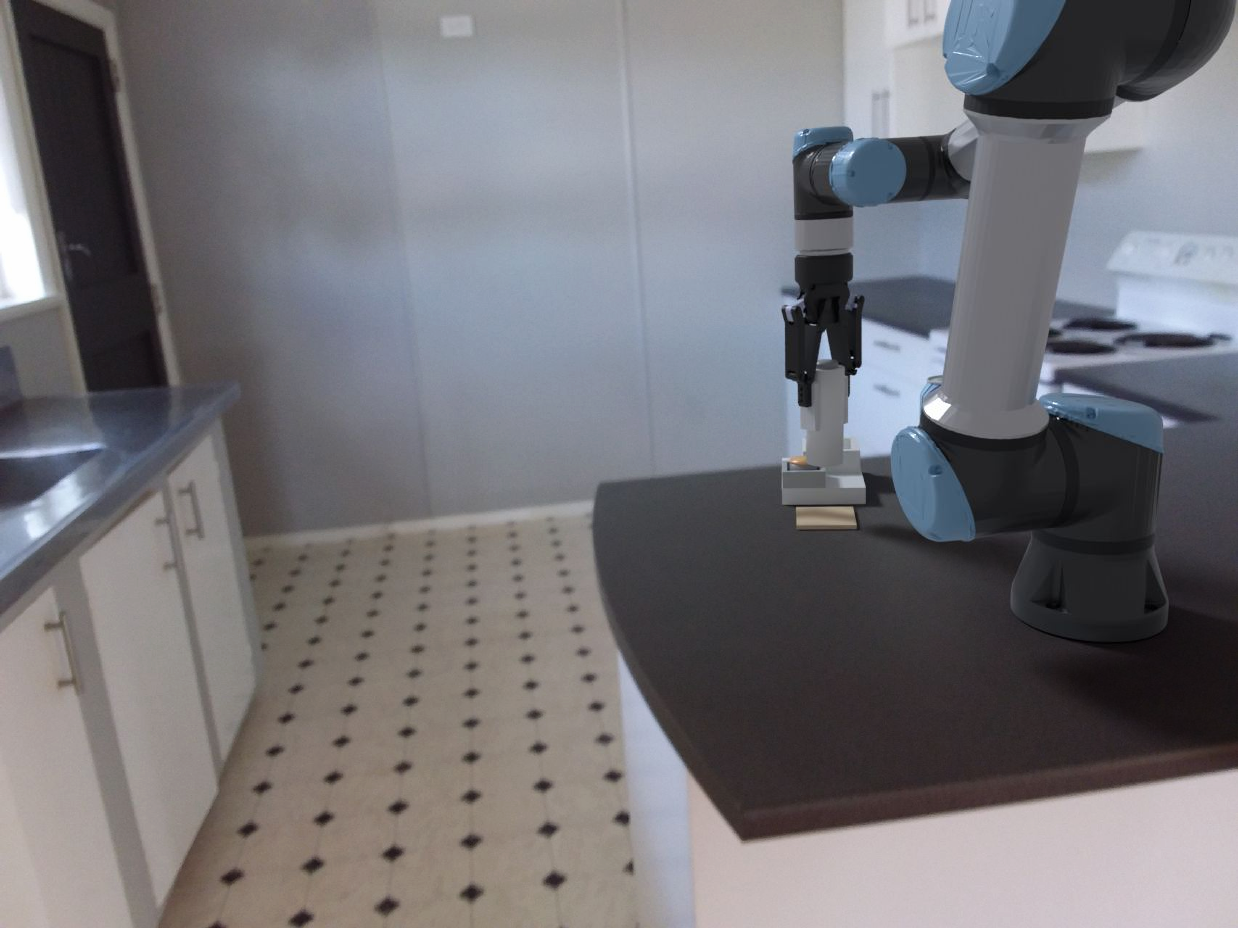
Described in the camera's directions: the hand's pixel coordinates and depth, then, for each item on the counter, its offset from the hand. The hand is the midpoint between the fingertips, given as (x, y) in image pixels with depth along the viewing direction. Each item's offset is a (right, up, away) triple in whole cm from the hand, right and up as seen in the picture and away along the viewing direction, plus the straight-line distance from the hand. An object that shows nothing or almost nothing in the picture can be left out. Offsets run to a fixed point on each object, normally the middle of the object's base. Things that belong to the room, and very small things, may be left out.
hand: (824, 425), depth 137 cm
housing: (+3, -9, +18) cm, 21 cm away
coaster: (+1, -13, +3) cm, 14 cm away
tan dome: (-1, -7, +13) cm, 15 cm away
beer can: (+22, -8, +17) cm, 30 cm away
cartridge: (0, -5, +1) cm, 5 cm away
